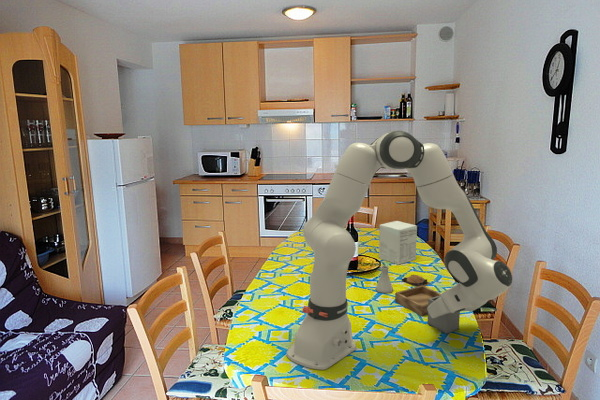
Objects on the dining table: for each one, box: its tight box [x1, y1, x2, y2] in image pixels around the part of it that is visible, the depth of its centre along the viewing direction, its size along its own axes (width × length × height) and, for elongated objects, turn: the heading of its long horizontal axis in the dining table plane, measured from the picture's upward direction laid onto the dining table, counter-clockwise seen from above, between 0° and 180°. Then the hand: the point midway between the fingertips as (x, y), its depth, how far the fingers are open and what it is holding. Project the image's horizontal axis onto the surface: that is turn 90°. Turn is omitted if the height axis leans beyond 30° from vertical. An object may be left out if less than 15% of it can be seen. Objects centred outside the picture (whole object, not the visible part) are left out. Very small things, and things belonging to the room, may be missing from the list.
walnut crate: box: [394, 285, 442, 317], centre depth 151 cm, size 14×14×4 cm
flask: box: [375, 265, 394, 294], centre depth 164 cm, size 7×7×10 cm
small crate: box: [426, 295, 461, 335], centre depth 134 cm, size 8×6×9 cm
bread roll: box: [401, 274, 432, 287], centre depth 172 cm, size 11×8×4 cm
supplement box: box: [378, 220, 418, 265], centre depth 200 cm, size 13×13×18 cm
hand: (442, 312), depth 134 cm, fingers closed on small crate, 6 cm apart
